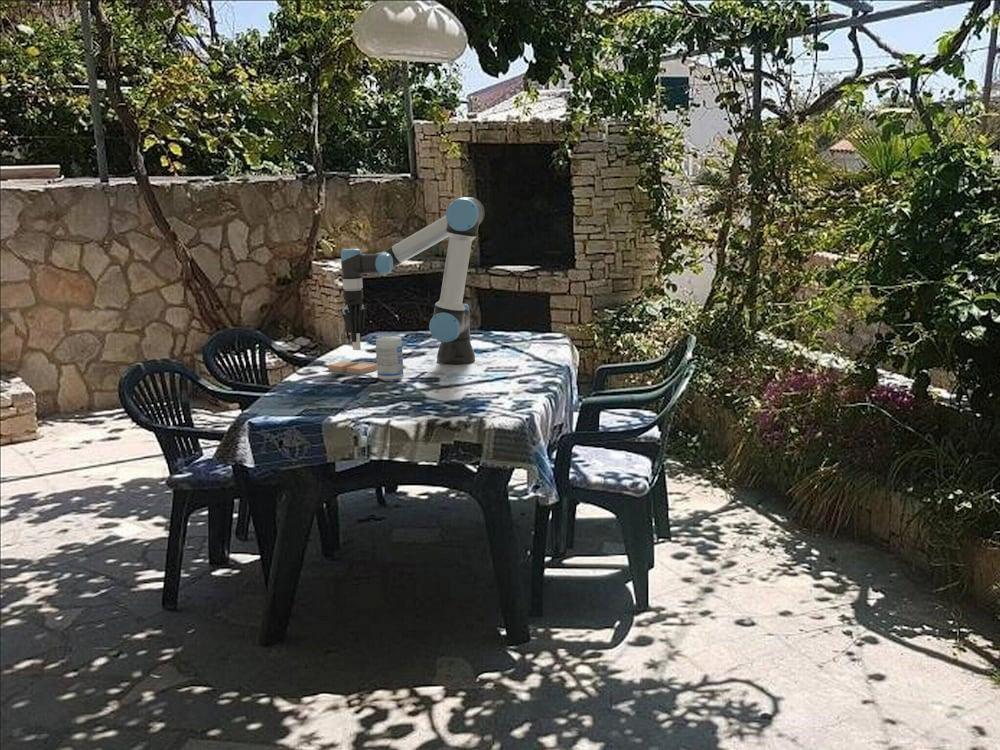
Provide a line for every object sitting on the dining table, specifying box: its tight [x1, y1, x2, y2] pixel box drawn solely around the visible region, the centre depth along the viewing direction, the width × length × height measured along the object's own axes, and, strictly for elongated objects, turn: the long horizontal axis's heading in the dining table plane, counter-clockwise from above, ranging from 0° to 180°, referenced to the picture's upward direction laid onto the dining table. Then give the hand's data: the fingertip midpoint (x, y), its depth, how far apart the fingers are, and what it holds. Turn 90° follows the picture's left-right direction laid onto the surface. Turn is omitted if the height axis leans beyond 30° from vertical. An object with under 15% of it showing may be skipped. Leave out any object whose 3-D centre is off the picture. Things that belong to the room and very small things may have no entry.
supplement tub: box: [375, 336, 404, 380], centre depth 321 cm, size 10×10×15 cm
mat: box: [322, 361, 377, 377], centre depth 339 cm, size 17×22×1 cm
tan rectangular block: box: [347, 363, 377, 375], centre depth 333 cm, size 7×2×9 cm
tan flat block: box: [327, 360, 359, 372], centre depth 338 cm, size 7×2×9 cm
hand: (356, 349), depth 343 cm, fingers closed
